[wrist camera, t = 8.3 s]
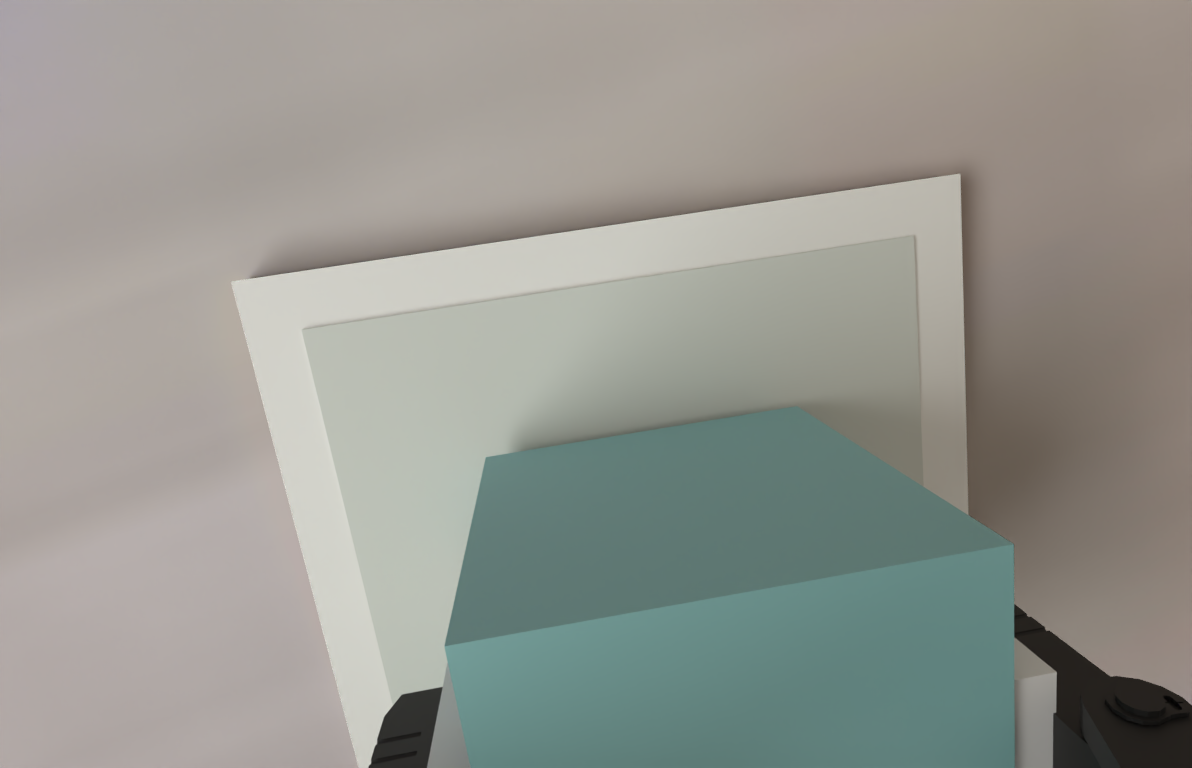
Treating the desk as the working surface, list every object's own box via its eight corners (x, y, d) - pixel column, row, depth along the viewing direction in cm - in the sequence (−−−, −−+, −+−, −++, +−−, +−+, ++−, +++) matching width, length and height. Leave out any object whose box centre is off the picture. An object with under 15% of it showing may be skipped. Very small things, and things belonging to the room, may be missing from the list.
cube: (537, 730, 16) (539, 1085, 9) (485, 456, 15) (444, 645, 8) (818, 677, 17) (1015, 982, 10) (796, 406, 15) (1013, 543, 8)
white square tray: (397, 866, 18) (391, 898, 17) (246, 279, 15) (228, 282, 14) (956, 751, 19) (977, 776, 18) (939, 176, 16) (963, 173, 15)
